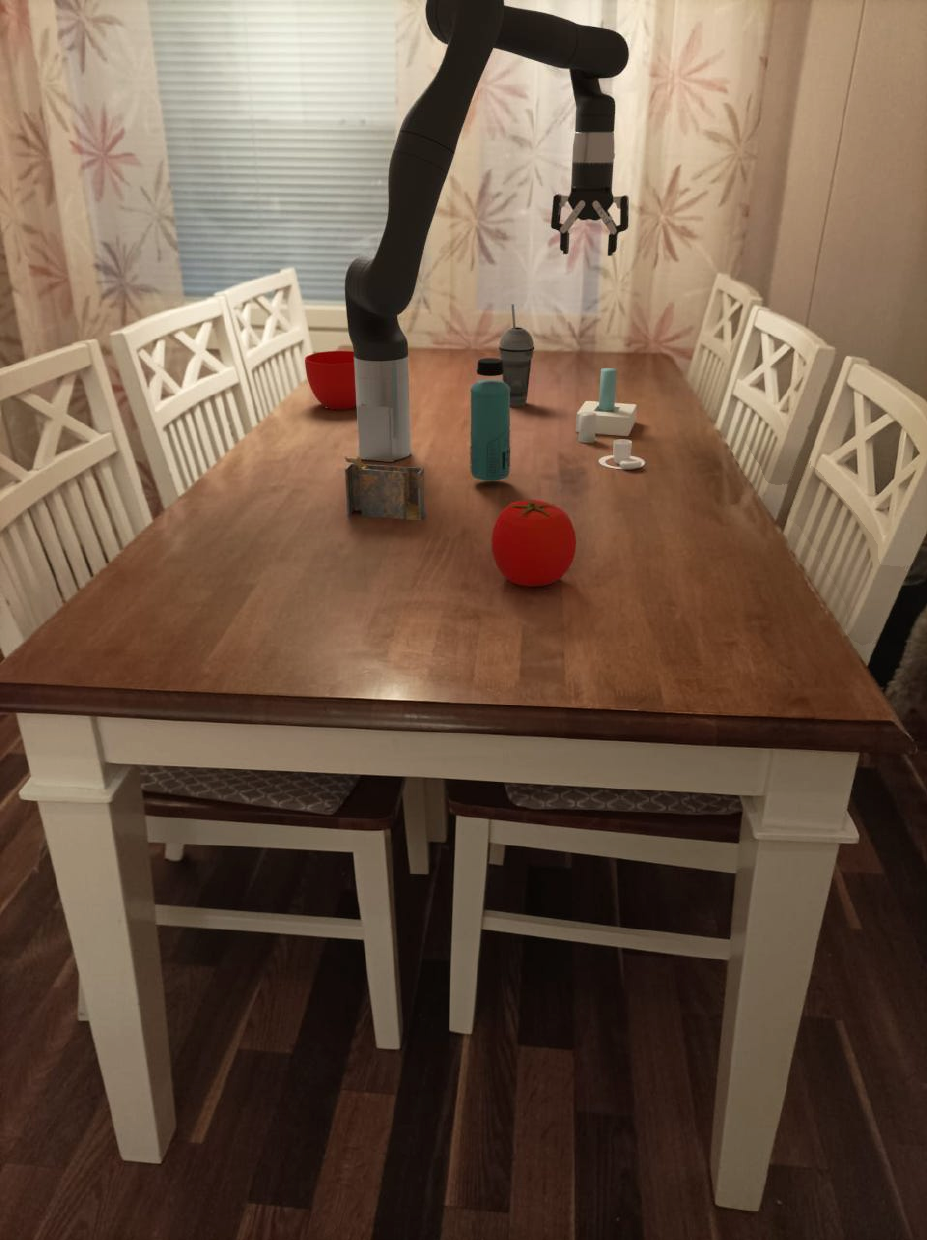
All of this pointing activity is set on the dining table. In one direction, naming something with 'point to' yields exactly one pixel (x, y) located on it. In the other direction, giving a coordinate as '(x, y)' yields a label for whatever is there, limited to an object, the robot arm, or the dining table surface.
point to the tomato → (533, 543)
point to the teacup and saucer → (623, 456)
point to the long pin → (607, 390)
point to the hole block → (611, 418)
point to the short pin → (587, 427)
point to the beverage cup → (516, 362)
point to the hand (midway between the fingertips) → (587, 254)
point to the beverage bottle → (490, 423)
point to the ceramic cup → (332, 378)
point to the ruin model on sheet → (385, 490)
